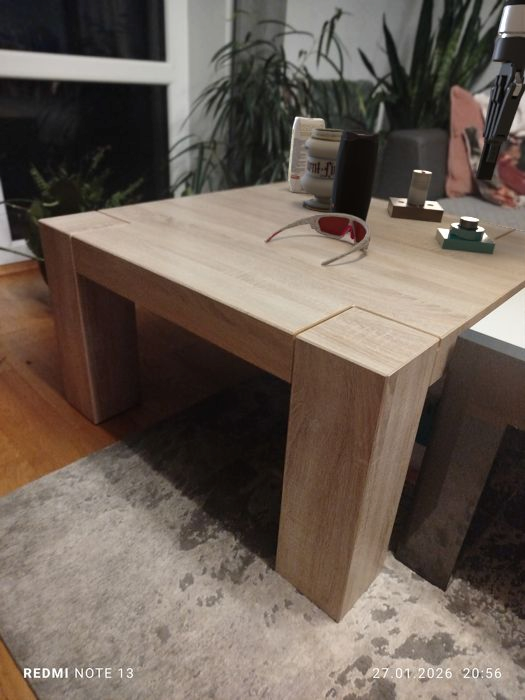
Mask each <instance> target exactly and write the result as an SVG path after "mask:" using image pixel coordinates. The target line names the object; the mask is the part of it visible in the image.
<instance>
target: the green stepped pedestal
mask: <svg viewBox="0 0 525 700" xmlns="http://www.w3.org/2000/svg"><path fill="white" fill-rule="evenodd" d="M458 226H459V222H452V223H451V224H450V226H449V229H448V228H441V227H440V228H438V227H437V228H436V232H435V236H434V239H435V241H436V242H437V244H438V245H439V247H440V249H442V250H448V251H457V252H458V251H459V252H466V253H467V252H468V253H474V254H475V253H477V254H487V255H493V254H494V250H495V246H496V243H495V242H494V241H493V239H491V238H490V237H489V235H487V233H486V232H485V231H486V229H485V228H484V227H482V226H479V225H478V227H477V230H467V229H463V228H460V227H458Z"/></svg>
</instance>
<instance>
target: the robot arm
mask: <svg viewBox="0 0 525 700" xmlns="http://www.w3.org/2000/svg"><path fill="white" fill-rule="evenodd" d="M500 18H501V19H500V23H499V26H498V30H497V34H498V35H499V36H500V37H498V38H497V40H495V43H494V48H493V54H492V57H491V62H492V63H494V64H500V65H501V66H500V69H499V72H498V74H497V75H496V76H495V78H494V81H493V82H492V83H491V84H490V92H489V99H488V104H487V111H486V114H485V121H484V125H483V131H482V138H483V146H482V151H481V154H480V158H479V162H478V165H477V170H476V174H475V179H476V180H480V181H492V180H493V176H494V173H495V169H496V165H497V161H498V159H499V155H500V151H501V147H502V145H503V143H504V142H507V140H508V137H509V135H510V131H511V130H512V126H513V124H514V121H515V118H516V115H517V112H518V108H519V106H520V104H521V100H522V98H523V96H524V94H525V0H505V4H504V7H503V11H502V14H501V17H500Z"/></svg>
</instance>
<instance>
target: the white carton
mask: <svg viewBox="0 0 525 700" xmlns="http://www.w3.org/2000/svg"><path fill="white" fill-rule="evenodd" d="M317 128H325V129H326V121H325V120H324V119H323V118H320V117H319V118H317V117H316V118H315V117H313V118H312V117H303V116H295V117H294V121H293V125H292V131H291V141H290V142H291V143H290V152H289V163H288V172H287V173H288V176H287V181H288V186H289V189H290V192H291V193H298V194H299V193H300V194H308V193H307V192H306V191H304V190H303V188H302V187H301V183H300V182H301V178H302V177H303V176H304V175H305V174H306V171H307V162H308V153H307V152H306V151H305V149H304V145H305V142H306V141H307V140H308V139H309V138H311V135H312V132H313V129H317Z"/></svg>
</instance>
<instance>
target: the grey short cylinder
mask: <svg viewBox="0 0 525 700" xmlns="http://www.w3.org/2000/svg"><path fill="white" fill-rule="evenodd" d="M458 223H459V226H458V227H460V228H463V229H467V230H477V227H478V226H479V223H480V219H478V218H475V217H471V216H461V217H460V219H459V222H458Z"/></svg>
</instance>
